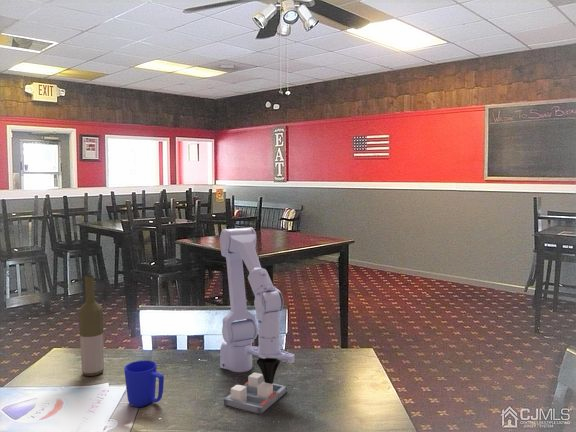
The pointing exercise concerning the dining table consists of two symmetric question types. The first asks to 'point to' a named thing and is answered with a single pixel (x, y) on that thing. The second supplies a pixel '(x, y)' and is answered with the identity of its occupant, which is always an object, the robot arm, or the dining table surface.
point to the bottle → (91, 332)
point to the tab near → (239, 393)
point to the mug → (142, 383)
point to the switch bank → (256, 399)
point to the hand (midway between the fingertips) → (269, 383)
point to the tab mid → (264, 390)
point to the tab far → (255, 379)
